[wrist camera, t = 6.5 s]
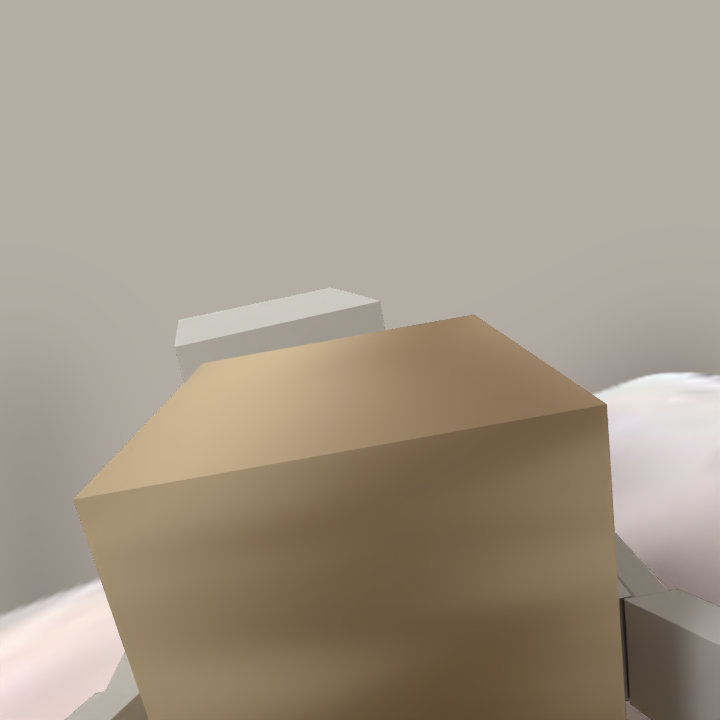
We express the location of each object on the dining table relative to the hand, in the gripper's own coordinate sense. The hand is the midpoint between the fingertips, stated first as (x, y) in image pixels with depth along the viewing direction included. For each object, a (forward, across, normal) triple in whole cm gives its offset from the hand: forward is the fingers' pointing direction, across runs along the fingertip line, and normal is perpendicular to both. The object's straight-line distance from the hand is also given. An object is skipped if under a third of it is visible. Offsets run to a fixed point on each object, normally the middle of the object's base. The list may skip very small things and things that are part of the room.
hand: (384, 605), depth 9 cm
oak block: (-1, 0, +6) cm, 6 cm away
